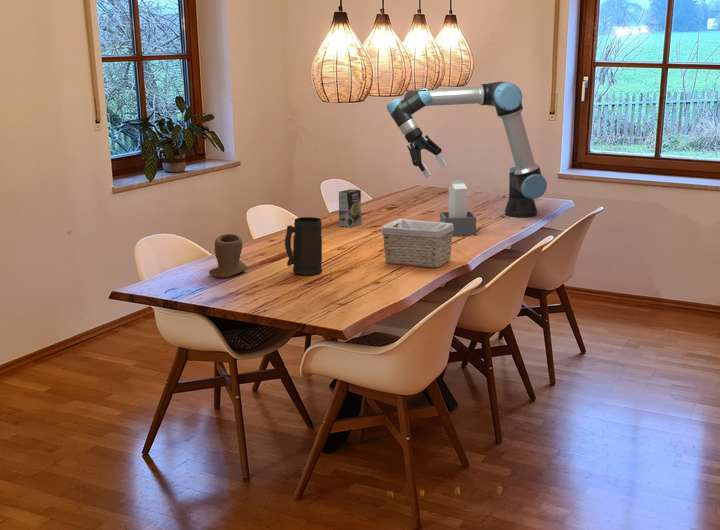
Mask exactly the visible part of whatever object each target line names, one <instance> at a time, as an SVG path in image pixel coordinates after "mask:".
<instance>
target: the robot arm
mask: <svg viewBox="0 0 720 530" xmlns="http://www.w3.org/2000/svg"><path fill="white" fill-rule="evenodd" d="M422 88H423V87H422ZM419 89H420V90H426V91H408V90H407V91H406V92H405V93H404V95H403V99H402V98H401V97H395V98H394V99H393V100H391V101H390V102H389V103H388V104H387V105H386V110H387V111H388V113H389V115H390V116H391V119H392V120H393V121H394V122H395V124H396V125H397V127H398V128H399V130H400V132H401V134H402V135H404V138H405V141H407V143H408V145H406V147H407V149H408V151H409V154H410V158H411V161H412V162H411V163H412V165H413V166H415V167H418V168H419V170H420V172H422V174H423V175H424V177H425V179H427V178H429V177H431V176H432V174H431V172H430V170H429V168H428V167H427V166H426V164H425V162H422V152H421V151H422V150H426V151H428V152H429V153H431V154H432V155H435V156H434V158H435V160H436V161H437V162H438V164H439V165H440V167H441V168H442V170H444V169H445V168H446V167H448V164H447V162H446V161H445V159H444V157H443V156H442V148H441V147H440V146H438V145H437V143H435V142H434V141H433V140H432V139H431V138H430V137H429V136H428V135H425V136H423V131H422V130H421V128H420V127H418V123H417V122H416V120H415V119H414V118H413V116H412V115H414V114H415V113H417V112H418V111H420V110H421V109H423V108H425V107H434V106H452V105H453V106H454V105H472V104H473V105H474V104H479V106H489V107H490V106H491V107H494V109H495V110H496V111H495V112H496V115H497V117H498V118H501V120H502V123H503V127H504V131H505V134H506V137H507V141H508V144H509V148H510V151H511V156H512V157H513V162H514V165H515V166H511V167H510V168H509V173H508V177H509V179H508V182H509V183H508V184H509V185H508V200H507V202H506V206H505V208H504V215H505V216H508V217H513V218H530V217H535V216H537V214H538V208H537V205H536V201H535V200H536V199H539V198H541V197H542V196H543V195H544V194H545V193H546V190H547V187H548V186H547V185H548V184H547V183H548V182H547V180H546V178H545V177H544V176H543V175H542V172H541V171H542V170H541V168H540V165H539V164H537V163H535V160H534V159H535V158H534V156H533V152H532V149H531V145H530V142H529V138H528V134H527V131H526V127H525V124H524V119H523V115H522V111H523V110H524V106H523V103H522V101H523V94H522V90H521V89H520V87H519V86H518V85H517V84H515V83H513V82H509V81H495V82H489V83H481V84H479V85H478V86H464V87H447V88H446V87H445V88H441V87H440V88H434V89H435V90H429V91H428V89H429V88H427V87H426V88H423V89H421V88H419Z"/></svg>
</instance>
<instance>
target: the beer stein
mask: <svg viewBox="0 0 720 530" xmlns="http://www.w3.org/2000/svg"><path fill="white" fill-rule="evenodd" d="M293 225H294V226H293ZM293 225H287V226H286V232H285V233H286V234H285V239H284V247H285V248H284V249H285V251H286V254H287V257H288V260H287V262H286V263H287V264H286V265H287V267H290V266H292V265H293V268H292V272H293V273H294V274H298V275H299V274H300V275H308V276H309V275H319V274H320V273H322V272H323V268H322V262H323V237H322V225H323V224H322V219H321V218H320V217H314V216H313V217H312V216H303V217H297V218H295V219H294V223H293ZM293 233H294V236H293V245H292V244H291V243H292V241H291V240H292V235H293ZM292 246H293V248H292ZM292 249H293V250H292Z"/></svg>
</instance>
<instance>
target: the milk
mask: <svg viewBox="0 0 720 530" xmlns="http://www.w3.org/2000/svg"><path fill="white" fill-rule="evenodd" d="M467 211H468V187H467V185H466V184H465V180H464V179H457V180H452V181H451V184H450V185H449V187H448V212H449V218H459V217H467Z"/></svg>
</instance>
